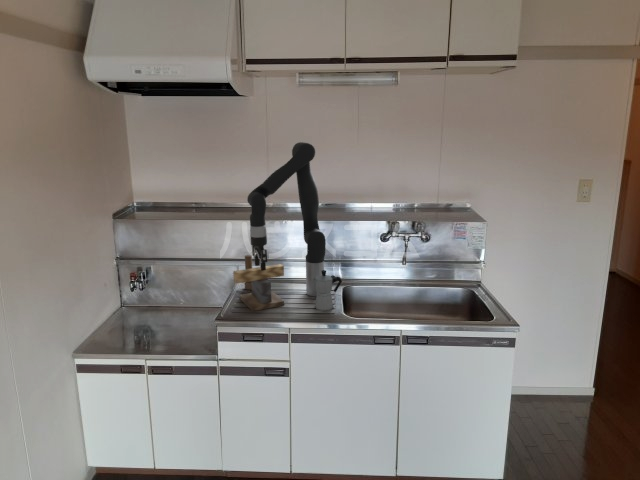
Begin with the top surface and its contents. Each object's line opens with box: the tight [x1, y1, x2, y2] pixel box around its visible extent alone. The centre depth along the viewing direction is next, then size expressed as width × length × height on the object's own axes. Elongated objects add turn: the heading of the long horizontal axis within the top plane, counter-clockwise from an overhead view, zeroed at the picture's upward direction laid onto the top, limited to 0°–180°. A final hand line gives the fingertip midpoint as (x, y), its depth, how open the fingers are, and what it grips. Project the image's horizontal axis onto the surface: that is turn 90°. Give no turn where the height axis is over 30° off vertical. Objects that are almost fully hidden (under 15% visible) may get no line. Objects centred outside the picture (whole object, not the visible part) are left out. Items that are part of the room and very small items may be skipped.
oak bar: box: [232, 263, 285, 285], centre depth 232 cm, size 24×4×5 cm, turn 116°
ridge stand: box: [239, 278, 285, 312], centre depth 234 cm, size 16×18×12 cm
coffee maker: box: [310, 269, 343, 312], centre depth 226 cm, size 15×9×18 cm, turn 101°
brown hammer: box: [244, 254, 261, 291], centre depth 250 cm, size 4×11×18 cm, turn 68°
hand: (260, 267), depth 231 cm, fingers open, 8 cm apart
